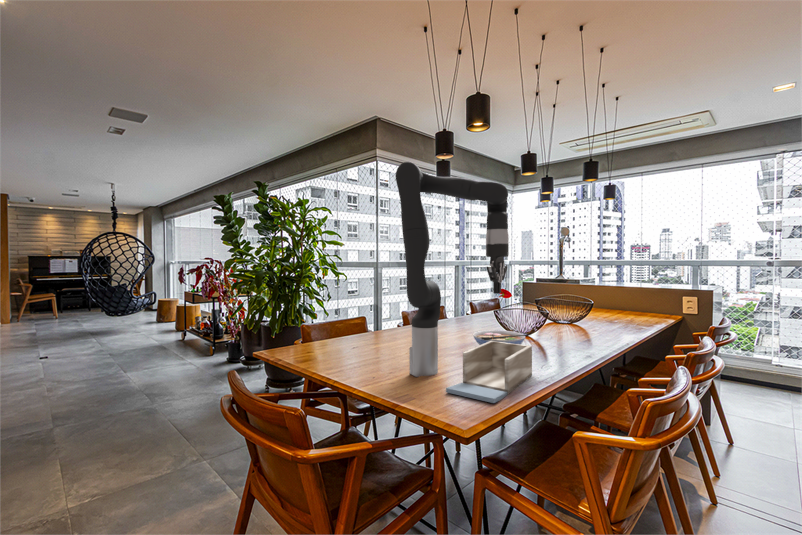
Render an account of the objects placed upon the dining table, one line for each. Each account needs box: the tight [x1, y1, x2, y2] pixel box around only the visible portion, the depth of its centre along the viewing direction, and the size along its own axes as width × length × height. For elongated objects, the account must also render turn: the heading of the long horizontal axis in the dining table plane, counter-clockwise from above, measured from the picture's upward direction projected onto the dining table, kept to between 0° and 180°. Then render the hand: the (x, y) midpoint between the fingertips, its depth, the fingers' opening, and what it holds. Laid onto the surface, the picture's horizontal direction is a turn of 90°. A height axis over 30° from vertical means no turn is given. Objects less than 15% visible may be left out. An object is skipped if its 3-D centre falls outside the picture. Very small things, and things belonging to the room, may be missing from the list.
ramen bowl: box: [472, 329, 532, 346], centre depth 167 cm, size 25×23×8 cm
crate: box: [462, 341, 533, 395], centre depth 124 cm, size 15×22×11 cm
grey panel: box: [445, 382, 509, 404], centre depth 111 cm, size 15×1×11 cm
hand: (497, 293), depth 130 cm, fingers closed
